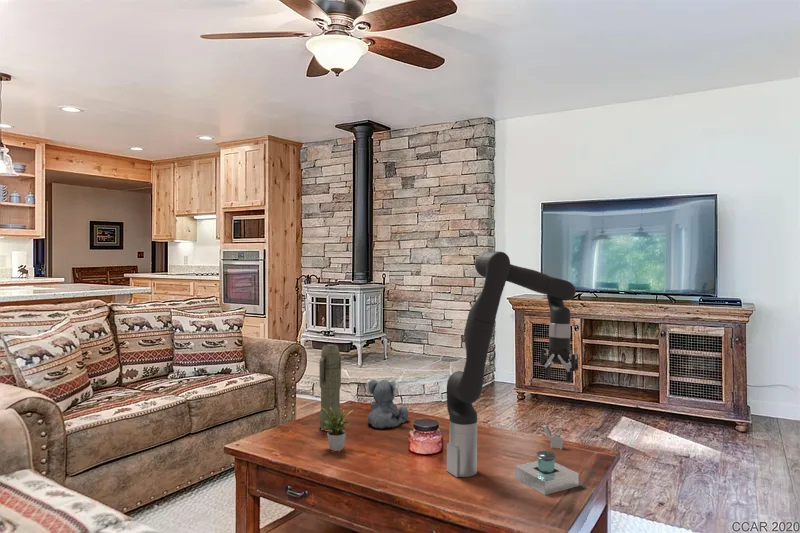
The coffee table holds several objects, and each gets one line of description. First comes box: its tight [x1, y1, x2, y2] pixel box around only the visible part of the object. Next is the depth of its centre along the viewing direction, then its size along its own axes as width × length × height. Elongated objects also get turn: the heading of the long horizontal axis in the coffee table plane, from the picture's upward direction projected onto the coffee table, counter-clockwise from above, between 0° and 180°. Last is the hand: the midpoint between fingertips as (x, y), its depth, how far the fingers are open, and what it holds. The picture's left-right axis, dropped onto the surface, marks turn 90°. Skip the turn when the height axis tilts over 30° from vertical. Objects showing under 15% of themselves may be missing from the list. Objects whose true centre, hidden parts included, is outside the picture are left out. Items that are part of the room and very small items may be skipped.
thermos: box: [319, 343, 342, 430], centre depth 225 cm, size 9×12×35 cm
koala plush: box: [365, 379, 409, 429], centre depth 231 cm, size 17×18×20 cm
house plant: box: [319, 407, 354, 451], centre depth 200 cm, size 14×14×16 cm
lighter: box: [542, 424, 564, 450], centre depth 204 cm, size 7×2×8 cm, turn 59°
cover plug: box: [536, 450, 557, 475], centre depth 172 cm, size 6×6×9 cm
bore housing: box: [514, 460, 580, 496], centre depth 172 cm, size 14×14×4 cm
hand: (558, 379), depth 196 cm, fingers open, 8 cm apart
